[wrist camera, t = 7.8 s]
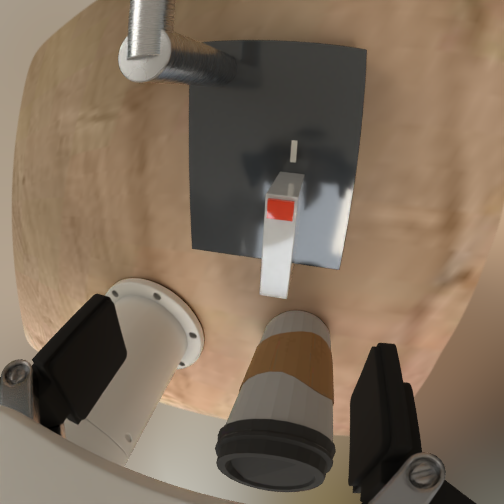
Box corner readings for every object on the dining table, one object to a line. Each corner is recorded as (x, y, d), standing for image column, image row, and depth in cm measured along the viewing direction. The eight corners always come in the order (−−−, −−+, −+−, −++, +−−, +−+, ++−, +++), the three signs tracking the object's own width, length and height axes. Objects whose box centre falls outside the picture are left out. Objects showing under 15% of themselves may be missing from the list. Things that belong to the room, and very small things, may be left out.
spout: (236, 87, 17) (164, 79, 9) (200, 87, 18) (110, 86, 10) (240, -7, 14) (177, -71, 6) (204, -4, 15) (124, -55, 7)
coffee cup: (239, 332, 31) (187, 461, 18) (293, 282, 27) (258, 435, 14) (300, 373, 32) (276, 499, 19) (358, 333, 28) (359, 478, 15)
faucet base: (335, 265, 25) (335, 290, 22) (207, 247, 27) (192, 268, 24) (360, 57, 18) (367, 48, 14) (209, 49, 19) (189, 42, 16)
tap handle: (295, 258, 22) (286, 301, 17) (273, 254, 22) (258, 297, 18) (304, 174, 19) (297, 198, 15) (279, 171, 19) (264, 194, 15)
